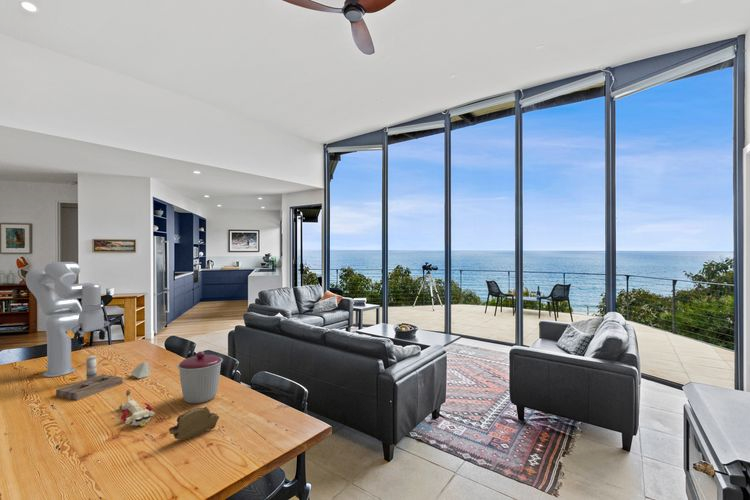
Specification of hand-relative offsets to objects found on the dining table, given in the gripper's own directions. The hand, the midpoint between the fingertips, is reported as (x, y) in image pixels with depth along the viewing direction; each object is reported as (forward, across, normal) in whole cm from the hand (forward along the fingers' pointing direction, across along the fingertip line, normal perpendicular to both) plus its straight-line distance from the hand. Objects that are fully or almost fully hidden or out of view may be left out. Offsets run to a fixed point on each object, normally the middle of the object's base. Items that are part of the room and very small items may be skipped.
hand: (91, 341), depth 174 cm
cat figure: (+21, +21, +58) cm, 65 cm away
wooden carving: (+21, +25, +92) cm, 97 cm away
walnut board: (+20, +8, +12) cm, 24 cm away
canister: (+21, 0, +70) cm, 73 cm away
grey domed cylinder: (+20, 0, 0) cm, 20 cm away
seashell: (+20, -12, +18) cm, 30 cm away
